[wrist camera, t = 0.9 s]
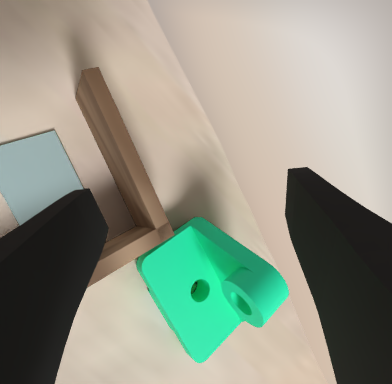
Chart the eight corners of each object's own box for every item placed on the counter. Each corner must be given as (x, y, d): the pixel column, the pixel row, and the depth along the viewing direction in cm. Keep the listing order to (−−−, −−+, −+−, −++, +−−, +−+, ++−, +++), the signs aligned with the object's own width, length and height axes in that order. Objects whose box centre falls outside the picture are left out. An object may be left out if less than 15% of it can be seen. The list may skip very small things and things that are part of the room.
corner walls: (-12, 324, 19) (-31, 358, 14) (-122, 144, 17) (-185, 118, 12) (152, 231, 25) (174, 234, 21) (88, 95, 23) (98, 67, 19)
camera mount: (128, 258, 24) (175, 284, 15) (189, 217, 28) (255, 218, 19) (185, 355, 27) (255, 425, 18) (235, 304, 30) (313, 342, 21)
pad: (-21, 152, 19) (-22, 151, 19) (54, 130, 22) (54, 130, 22) (34, 252, 20) (34, 253, 20) (99, 221, 23) (99, 221, 23)
